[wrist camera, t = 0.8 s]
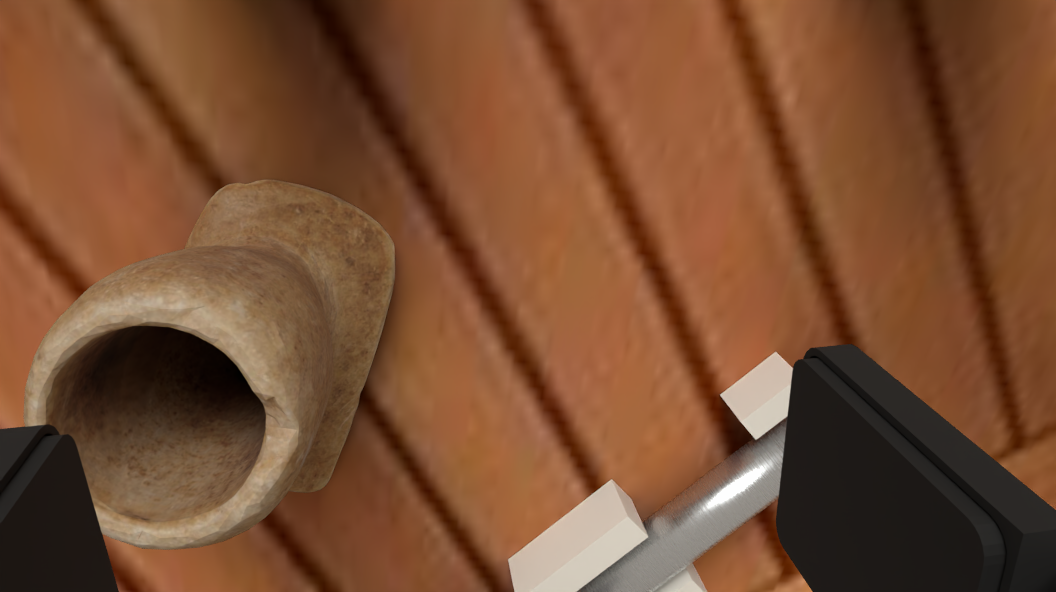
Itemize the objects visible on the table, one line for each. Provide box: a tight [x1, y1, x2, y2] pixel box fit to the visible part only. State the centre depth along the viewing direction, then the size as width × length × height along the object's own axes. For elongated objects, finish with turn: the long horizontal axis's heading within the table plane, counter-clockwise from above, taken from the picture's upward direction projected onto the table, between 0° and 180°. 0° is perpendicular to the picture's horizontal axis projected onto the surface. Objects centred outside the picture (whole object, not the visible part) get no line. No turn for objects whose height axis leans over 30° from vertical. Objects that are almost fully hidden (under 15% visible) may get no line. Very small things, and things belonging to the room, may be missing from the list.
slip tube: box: [577, 417, 787, 592], centre depth 46 cm, size 24×4×4 cm, turn 130°
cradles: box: [508, 352, 793, 592], centre depth 47 cm, size 20×8×4 cm, turn 130°
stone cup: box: [24, 180, 395, 550], centre depth 33 cm, size 15×12×15 cm
